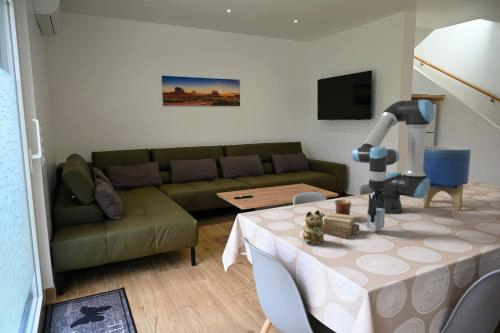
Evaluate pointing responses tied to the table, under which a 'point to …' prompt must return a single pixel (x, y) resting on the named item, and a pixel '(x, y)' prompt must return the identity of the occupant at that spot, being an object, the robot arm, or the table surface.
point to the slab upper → (339, 221)
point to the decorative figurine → (313, 227)
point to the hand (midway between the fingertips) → (375, 226)
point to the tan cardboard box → (340, 231)
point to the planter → (446, 172)
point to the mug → (343, 207)
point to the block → (377, 219)
